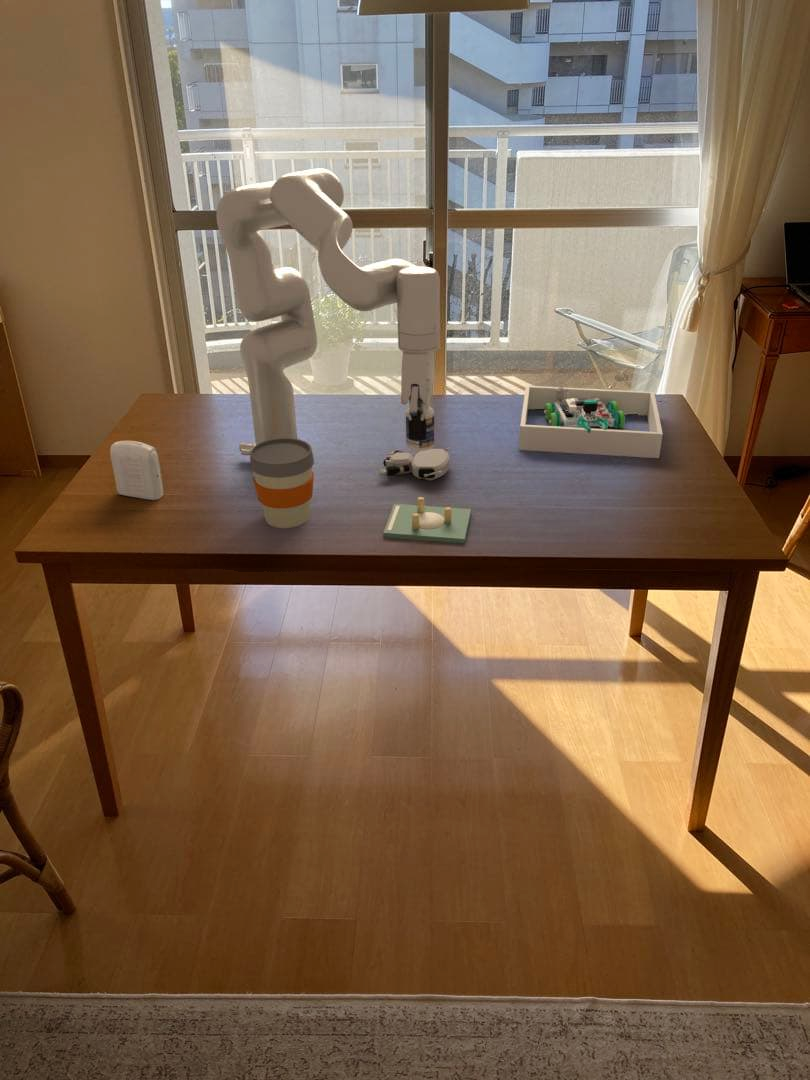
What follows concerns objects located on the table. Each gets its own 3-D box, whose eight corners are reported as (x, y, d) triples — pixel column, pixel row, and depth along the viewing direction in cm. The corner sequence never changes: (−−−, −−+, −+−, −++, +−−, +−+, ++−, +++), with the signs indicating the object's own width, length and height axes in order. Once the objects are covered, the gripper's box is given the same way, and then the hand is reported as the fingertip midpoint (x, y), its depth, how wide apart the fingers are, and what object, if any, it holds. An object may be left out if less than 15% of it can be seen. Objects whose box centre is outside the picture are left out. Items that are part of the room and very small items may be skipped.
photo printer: (167, 493, 189) (158, 440, 182) (157, 502, 185) (147, 449, 179) (126, 487, 191) (115, 435, 185) (114, 495, 188) (104, 443, 181)
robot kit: (560, 454, 202) (563, 416, 197) (540, 412, 224) (542, 377, 219) (639, 451, 203) (644, 413, 198) (612, 409, 224) (616, 375, 220)
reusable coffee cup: (304, 536, 172) (299, 467, 164) (246, 528, 175) (237, 460, 167) (326, 506, 182) (322, 440, 175) (271, 499, 185) (264, 434, 178)
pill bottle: (425, 454, 164) (424, 405, 159) (401, 448, 166) (399, 400, 161) (439, 443, 168) (439, 395, 163) (416, 438, 170) (415, 390, 165)
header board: (383, 537, 171) (382, 519, 169) (394, 507, 182) (393, 490, 180) (464, 543, 169) (465, 525, 167) (470, 513, 179) (471, 496, 177)
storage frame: (518, 449, 205) (520, 426, 202) (524, 407, 227) (525, 385, 224) (659, 458, 200) (662, 434, 197) (650, 414, 222) (654, 391, 219)
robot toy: (378, 486, 192) (445, 487, 189) (376, 467, 190) (444, 468, 187) (390, 462, 202) (454, 463, 199) (388, 444, 200) (453, 444, 197)
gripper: (406, 324, 164) (408, 414, 173) (389, 353, 150) (392, 450, 159) (446, 325, 163) (446, 416, 172) (432, 355, 149) (433, 452, 158)
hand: (420, 431), depth 165 cm, fingers closed on pill bottle, 5 cm apart
